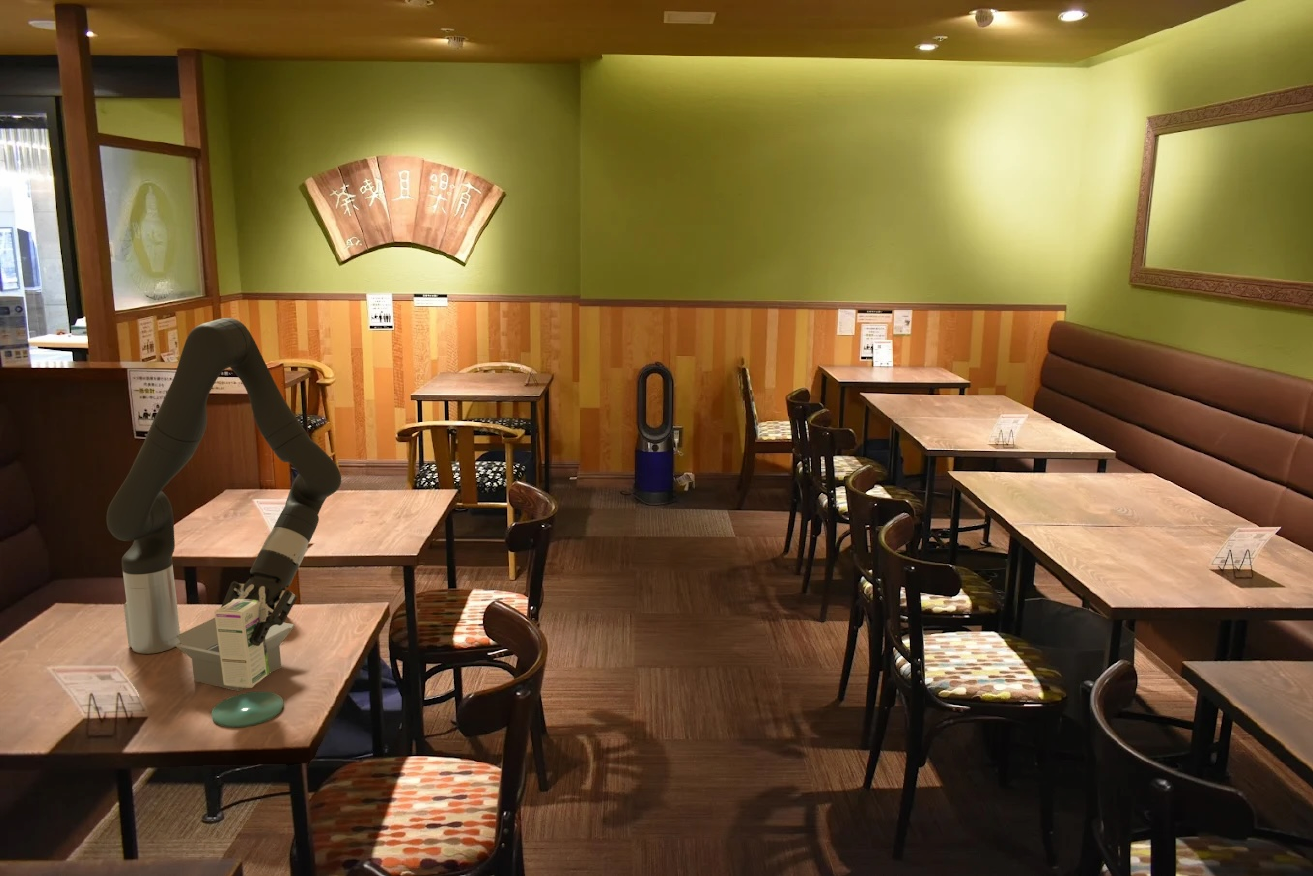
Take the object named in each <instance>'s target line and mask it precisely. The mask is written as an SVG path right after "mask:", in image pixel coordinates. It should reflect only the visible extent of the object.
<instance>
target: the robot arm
mask: <svg viewBox="0 0 1313 876" xmlns="http://www.w3.org/2000/svg"><path fill="white" fill-rule="evenodd" d="M256 343H257V342H256V340H255V339H254V337H253V335H252V333H251V332H250V330H249V329H248V328H247V326H245V324H244V323H242V322H241V321H239V320H238V319H236V318H232V317H222V318H218V319H214V320H212V321H207V322H203V323H201V324H199V325H197V326H195V327H194V328H192V330H191V331H190V332H189V333H188V336H187V338H186V340H185V342H184V345H183V348H182V350H181V354H180V357H179V361H178V364H177V367H176V370H175V373H174V376H173V379H172V382H171V383H170V385H169V387H168V389H167V392H166V393H165V395H164V398H163V400H162V403H161V405H160V406H159V408H158V411H157V412H156V414H155V416H154V418H153V420H152V422H151V425H150V427H149V429H148V431H147V434H146V436H145V439H144V441H143V443H142V446H141V447H140V449H139V452H138V453H137V456H136V458H135V459H134V461H133V465H132V466H131V468H130V470H129V473H128V474H127V476H126V478H125V479H124V481H123V483H121V485H120V487H119V489H118V490H117V492H116V494H115V495H114V496H113V498H112V500H111V502H110V503H109V505H108V507H107V512H106V516H105V517H106V526H107V529H108V531H109V532H110V534H111V535H112V537H114V538H115V539H116V540H118V541H119V540H120V541H123V542H132V541H133V543H132V544H131V546H130V548H129V549H127V551H126V552H125V553H124V554H123V555H122V557H121V568H122V569H121V570H122V576H123V584H124V592H125V600H126V602H125V603H124V604H123V609H124V611H123V612H124V618H125V619H124V620H125V628H126V635H127V644H128V647H129V648H132V649H131V650H132V651H133V652H135V653H138V654H142V655H143V654H144V655H145V654H149V655H150V654H157V653H162V652H166V651H169V650H171V649H174V648H175V647H176V644H181V642H180V641H179V640H178V638H177V637H176V636H177V635H179V634H181V630H180V629H181V628H180V621H179V619H180V618H179V611H178V601H177V600H178V599H177V591H176V584H175V576H174V567H173V555H174V552H175V546H176V545H175V544H176V543H175V542H176V541H175V527H174V526H175V522H174V521H175V520H174V512H173V508H172V503H171V502H170V499H169V498H168V496H167V495H166V494H165V492H164V491H162V490H163V489H164V488H165V486H167V485H168V484H169V482H171V480H172V479H173V478H174V477H175V476H177V474H178V473H179V472H180V471H181V470H182V469H183V468H184V467H185V466H186V465H187V464H188V462H189V461H190V460H191V459H192V458H193V456H194V455H195V452H196V451H197V449H198V447H199V445H200V443H201V441H202V439H203V437H204V434H205V432H206V429H207V424H208V410H207V408H208V407H207V401H208V398H209V395H210V393H211V391H212V389H213V387H214V386H215V383H216V381H217V380H218V378H220V377H219V376H220V375H221V374H222V372H223V371H225V370H226V369H229V368H230V369H231V370H232V371H233V373H234V374H235V375H236V377H237V378H239V380H240V382H241V383H242V385H243V387H244V389H245V391H246V393H247V395H248V398H249V402H250V406H251V410H252V414H253V415H252V416H253V418H254V421H255V425H256V426H257V429H258V431H259V432H260V434H261V435H262V437H263V438H264V440H265V442H267V444H268V446H269V448H271V450H272V451H273V452H274V454H275V456H276V457H277V458H278V459H279V460H280V461H282V462H283V463H289V464H290V465H291V466H292V468H294V469H295V470H296V472H297V473H298V474H297V476H295V479H294V481H293V483H292V484H291V487H290V490H289V492H288V495H287V498H286V501H285V504H284V507H283V509H282V511H281V512H280V514H279V515H278V517H277V520H276V521H275V524H274V525H273V528H272V529H271V531H270V532H269V534H268V535H267V537H266V539H265V540H264V542H263V545H262V546H261V548H260V550H259V552H258V554H257V556H256V558H255V560H254V562H253V564H252V565H251V568H250V570H249V572H250V576H249V579H248V580H247V581H246V582H245V583H240V582H239V583H238V582H237V581H236V580H233V581H232V582H231V583H230V585H229V587H228V589H227V592H226V593H225V597H224V599H223V601H222V604H221V605H220V608H221V607H223V606H224V605H226V604H228V603H230V602H231V601H232V600H233V599H251V600H258V601H261V603H260V606H259V610H260V612H261V614H260V621H261V623H260V622H258V623H257V626H256V628H255V630H254V632H253V634H252V636H251V638H250V643H252V644H253V645H255V646H259V645H260V644H261V643H262V642H263V641H264V639H265V637H266V635H267V633H268V631H269V629H270V627H272V626H273V625H279V626H280V625H282V624H283V622H284V623H285V620H286V619H287V617H288V616H289V613H290V612H291V610H292V608H293V607H294V605H295V603H296V601H297V599H298V596H297V595H296V594H295V593H293V592H292V591H291V590H289V589H288V588H289V587H291V584H292V583H293V580H294V577H295V576H296V573H297V572H298V570H299V567H300V565H301V564H302V562H303V559H304V557H305V555H306V553H307V550H308V546H309V543H310V542H311V540H312V538H313V535H314V533H315V531H316V529H317V527H318V524H319V520H320V519H319V518H320V517H319V513H320V511H321V508H323V505H324V502H325V501H326V499H327V498H329V497H330V496H331V495H333V494H335V493H337V491H338V490H339V489H340V487H341V483H342V474H341V472H340V470H339V467H338V466H337V464H336V463H335V461H334V460H333V458H331V456H329V454H327V452H326V451H324V450H323V449H322V448H321V447H320V445H318V444H317V443H316V442H315V441H314V440H312V438H311V437H310V436H309V434H308V432H307V431H306V430H305V428H304V427H303V425H302V424H301V422H300V420H298V418H297V416H296V415H295V414H294V412H293V411H292V409H291V408H290V406H289V405H288V403H287V402H286V400H285V399H284V396H283V394H282V392H281V390H280V388H279V387H278V385H277V384H276V382H275V380H274V378H273V376H272V374H271V371H270V370H269V368H268V366H267V364H266V362H265V360H264V357H263V356H262V355H263V354H262V353H261V351H260V349H259V347H258V345H257V344H256ZM285 589H286V591H285ZM278 601H279V602H278ZM276 602H278V604H277V605H276ZM280 612H281V614H280ZM279 614H280V616H279ZM278 616H279V617H278ZM176 648H177V647H176Z"/></svg>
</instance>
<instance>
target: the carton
mask: <svg viewBox="0 0 1313 876" xmlns="http://www.w3.org/2000/svg"><path fill="white" fill-rule="evenodd" d="M295 627H296V625H295V624H293V623H288V622H285V621H284V622H283V624H282V625H280V626H279V625H273V626H272V627H270V629H269V631H268V633H267V635H266V637H265V639H266V648H267V656H268V665H269V673H270V672H272V671H274V672H275V671H277V670H279V669H281V668H282V660H281V650H280V649H281V648H280V645H282V643H283V641H284V640H285V639H286V638H287V636H288V635H289V634H291V632H292V630H293V629H294V628H295ZM176 637H177V638H178V640H179V641H180V643H179V644H176V648H177V649H178V650H180V651H181V652H182V653H183V654H184V655H186V656H187V657H189V658H190V659H191V664H192V673H193V675H192V676H193V680H194V682H197V683H200V684H201V683H202V684H205V685H210V686H214V685H215V686H214V687H218V686H220V687H219V688H223V689H227V688H229V689H228V690H232V689H233V690H232V691H236V690H237V692H240V691H242V690H244V689H245V688H244V687H233V686H227V685H224V682H223V675H222V667H221V659H220V652H219V644H218V637H217V629H216V621H215V617H214V618H211V619H209V620H207V621H205V622H203V623H201V624H199V625H196V626H195V627H192V628H190V629H187V630H186V631H184V632H180V634H179V635H177V636H176ZM280 667H281V668H280ZM278 668H279V669H278ZM276 669H277V670H276ZM272 673H273V672H272ZM270 674H271V673H270ZM243 688H244V689H243Z"/></svg>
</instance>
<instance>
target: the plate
mask: <svg viewBox="0 0 1313 876" xmlns="http://www.w3.org/2000/svg"><path fill="white" fill-rule="evenodd" d="M282 708H284V700H283V698H282V697H281V696H280V695H278V694H277V693H274V692H270V691H251V692H245V693H240V694H237V695H233V696H230V697H227V698H226V699H223V700H221V701H220V702H219V703H217V704H215V706H214V707H213V709H212V710H211V719H212V722H214V723H215V724H216V725H218V726H221V727H224V728H225V727H226V728H243V727H250V726H256V725H259V724H262V723H265V722H267V721H269V720H271V719H273V718H275V717H276V716H278V715H279V714H280V713H281V712H282V710H283V709H282Z"/></svg>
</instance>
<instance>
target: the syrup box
mask: <svg viewBox="0 0 1313 876" xmlns="http://www.w3.org/2000/svg"><path fill="white" fill-rule="evenodd" d="M260 603H261V601H258V600H251V599H233V600H232V601H231V602H230V603H228V604H226V605H224V606H223V607H221V606H220V608H218V609H216V610H215V611H214V618H215V621H216V629H217V637H218V644H219V652H220V659H221V667H222V675H223V682H224V685H227V686H233V687H244V689H252V688H253V687H254V686H255V685H256V684H258V683H259V682H261V681H263V679H264V678H265V677H267V676H269V675H270V674H269V665H268V656H267V648H266V639H264V641H263V642H262V643H261V644H260V645H259V646H255V645H253V644H252V643H250V638H251V636H252V634H253V632H254V630H255V628H256V626H257V623H258V622H260V623H261V621H260V614H261V612H260V610H259V606H260Z"/></svg>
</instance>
